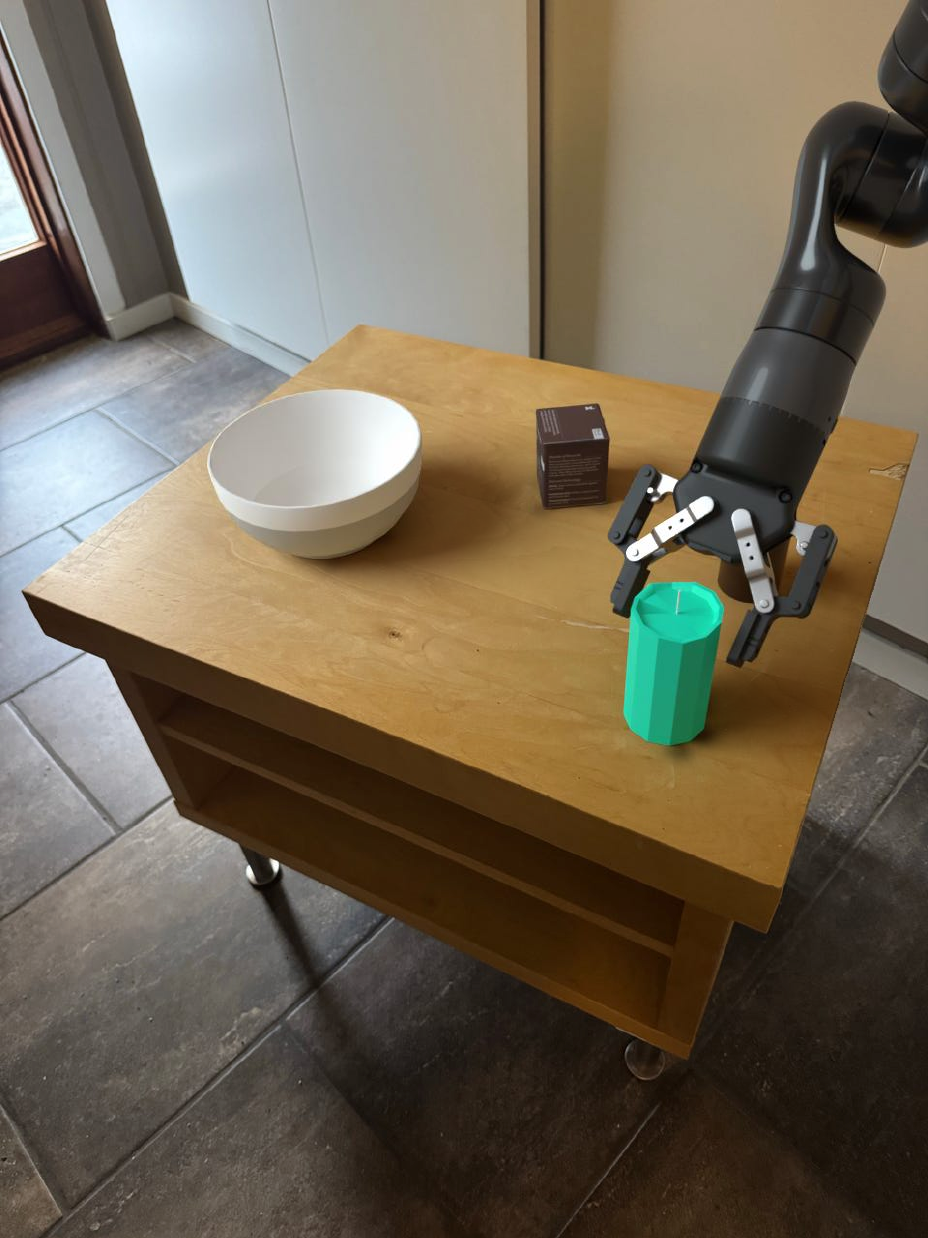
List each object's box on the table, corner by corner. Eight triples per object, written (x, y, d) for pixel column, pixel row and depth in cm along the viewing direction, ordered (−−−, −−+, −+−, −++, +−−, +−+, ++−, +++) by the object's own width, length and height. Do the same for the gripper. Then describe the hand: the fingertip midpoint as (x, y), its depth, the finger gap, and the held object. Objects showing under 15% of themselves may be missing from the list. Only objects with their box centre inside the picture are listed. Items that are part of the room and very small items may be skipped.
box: (536, 473, 91) (534, 407, 86) (597, 468, 91) (599, 401, 86) (543, 510, 87) (542, 443, 82) (607, 504, 87) (610, 437, 82)
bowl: (386, 605, 79) (372, 523, 73) (192, 570, 84) (164, 491, 78) (457, 479, 91) (451, 400, 85) (286, 455, 97) (268, 379, 91)
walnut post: (792, 582, 77) (805, 524, 73) (756, 611, 75) (768, 554, 71) (741, 555, 80) (751, 499, 76) (705, 584, 78) (713, 527, 74)
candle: (719, 701, 69) (741, 578, 60) (687, 757, 65) (706, 635, 57) (644, 672, 71) (655, 550, 63) (609, 725, 68) (616, 603, 59)
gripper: (661, 369, 62) (565, 594, 63) (876, 430, 55) (763, 680, 57) (691, 404, 68) (603, 607, 70) (887, 462, 62) (785, 686, 63)
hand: (675, 639), depth 63 cm, fingers open, 8 cm apart
